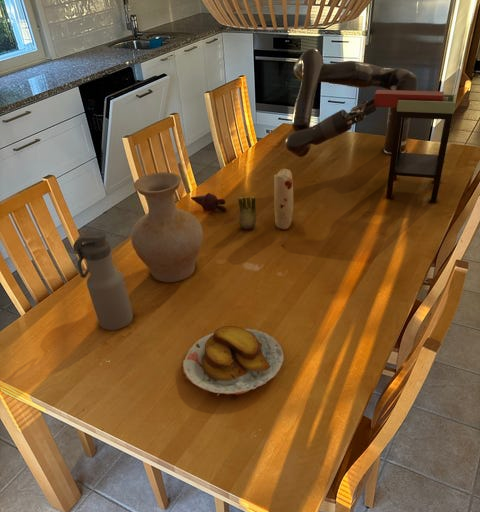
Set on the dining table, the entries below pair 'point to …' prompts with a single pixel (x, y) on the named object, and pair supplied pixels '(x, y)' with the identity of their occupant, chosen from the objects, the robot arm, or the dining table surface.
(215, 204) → the icecream
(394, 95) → the red bar
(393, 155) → the stand
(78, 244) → the water bottle
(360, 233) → the dining table surface
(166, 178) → the vase
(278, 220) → the food model
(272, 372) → the food on plate
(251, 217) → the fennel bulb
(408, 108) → the olive green shallow box
